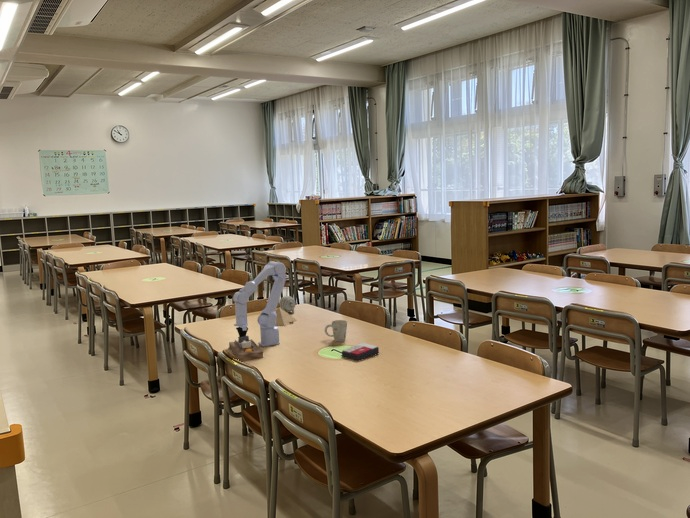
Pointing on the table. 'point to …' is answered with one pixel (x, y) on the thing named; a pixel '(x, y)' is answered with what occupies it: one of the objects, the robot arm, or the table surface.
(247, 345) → the grey block
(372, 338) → the table surface
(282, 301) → the toy sheep
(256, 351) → the launcher base
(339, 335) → the mug
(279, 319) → the model pyramid
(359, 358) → the flat black red box
